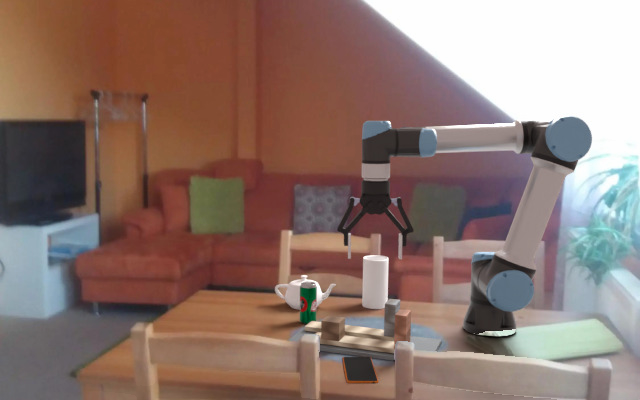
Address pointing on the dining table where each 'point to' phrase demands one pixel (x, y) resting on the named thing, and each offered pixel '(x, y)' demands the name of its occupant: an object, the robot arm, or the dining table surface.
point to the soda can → (308, 302)
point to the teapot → (294, 292)
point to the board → (419, 343)
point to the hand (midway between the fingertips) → (374, 258)
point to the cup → (375, 281)
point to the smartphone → (359, 370)
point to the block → (333, 328)
